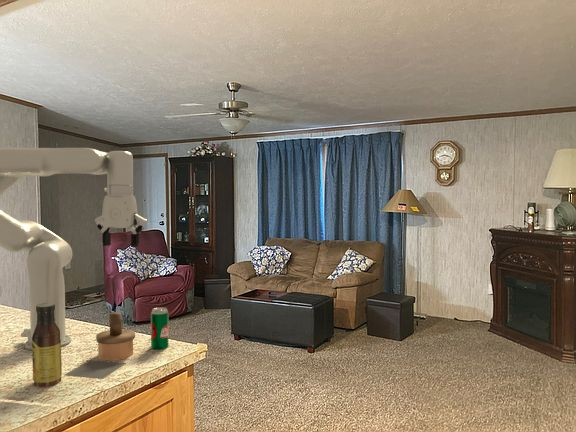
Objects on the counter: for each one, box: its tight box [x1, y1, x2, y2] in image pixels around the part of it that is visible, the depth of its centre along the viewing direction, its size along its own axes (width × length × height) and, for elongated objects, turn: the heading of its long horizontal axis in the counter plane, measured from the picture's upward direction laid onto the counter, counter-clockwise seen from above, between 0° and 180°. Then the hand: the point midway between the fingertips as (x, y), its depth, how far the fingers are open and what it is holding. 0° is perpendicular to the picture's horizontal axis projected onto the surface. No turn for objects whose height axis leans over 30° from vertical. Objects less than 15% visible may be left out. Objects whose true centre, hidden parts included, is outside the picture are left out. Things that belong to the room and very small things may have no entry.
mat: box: [63, 359, 127, 380], centre depth 122 cm, size 11×11×1 cm
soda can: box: [150, 307, 170, 351], centre depth 140 cm, size 5×5×12 cm
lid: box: [95, 311, 136, 344], centre depth 133 cm, size 10×10×7 cm
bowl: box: [97, 339, 134, 361], centre depth 133 cm, size 9×9×5 cm
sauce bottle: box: [31, 303, 63, 388], centre depth 113 cm, size 6×6×20 cm
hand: (120, 246), depth 145 cm, fingers open, 9 cm apart
